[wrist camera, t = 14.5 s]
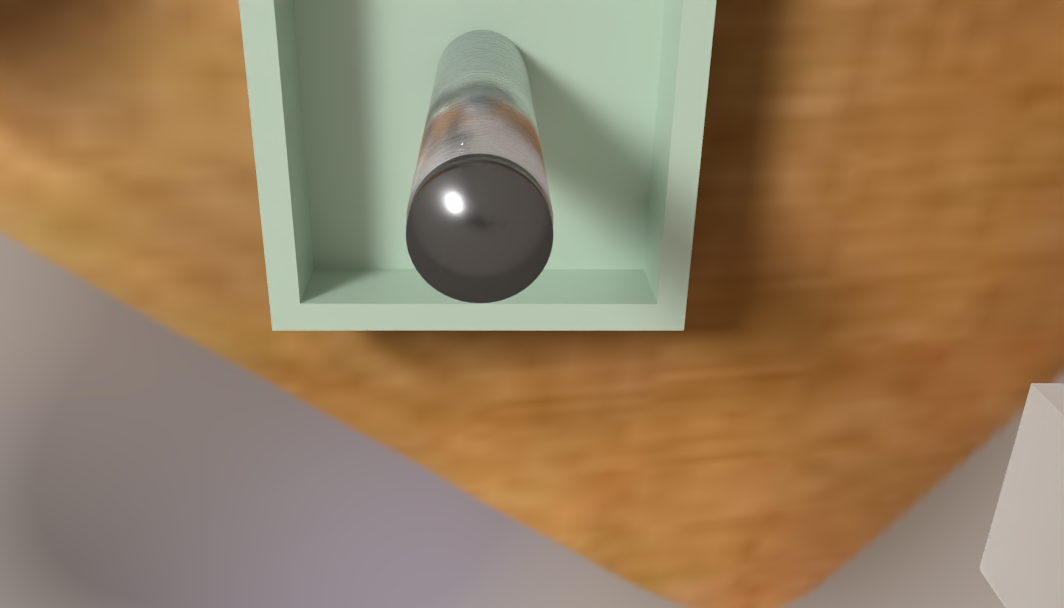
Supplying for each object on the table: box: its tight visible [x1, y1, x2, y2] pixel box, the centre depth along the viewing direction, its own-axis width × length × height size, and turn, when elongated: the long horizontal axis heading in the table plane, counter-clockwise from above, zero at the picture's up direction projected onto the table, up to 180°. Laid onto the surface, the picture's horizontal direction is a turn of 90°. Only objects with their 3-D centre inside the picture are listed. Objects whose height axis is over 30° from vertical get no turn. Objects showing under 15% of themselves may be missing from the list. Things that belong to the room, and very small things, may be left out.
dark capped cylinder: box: [406, 30, 553, 303], centre depth 26 cm, size 3×3×15 cm
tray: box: [239, 0, 716, 331], centre depth 32 cm, size 16×14×4 cm
